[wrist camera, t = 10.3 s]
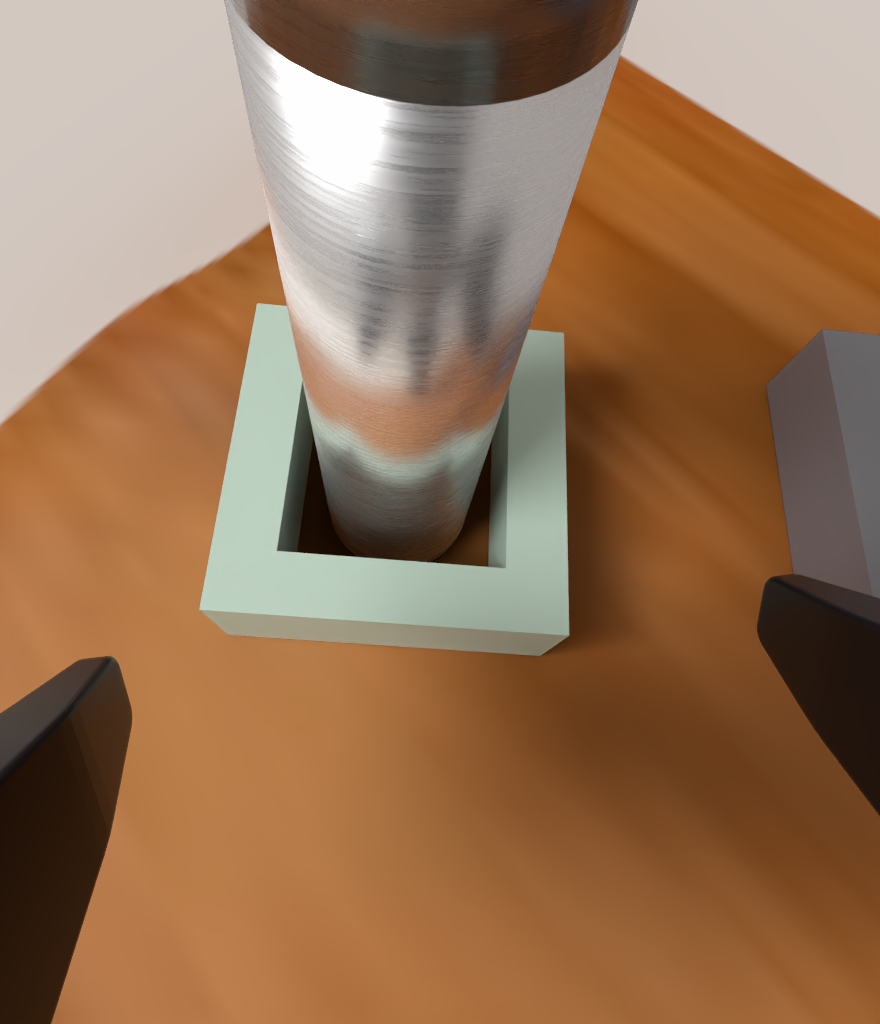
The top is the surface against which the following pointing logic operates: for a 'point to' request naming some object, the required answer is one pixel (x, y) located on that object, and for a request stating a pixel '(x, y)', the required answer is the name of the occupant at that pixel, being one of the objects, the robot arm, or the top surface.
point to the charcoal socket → (831, 458)
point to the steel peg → (416, 225)
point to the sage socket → (383, 582)
